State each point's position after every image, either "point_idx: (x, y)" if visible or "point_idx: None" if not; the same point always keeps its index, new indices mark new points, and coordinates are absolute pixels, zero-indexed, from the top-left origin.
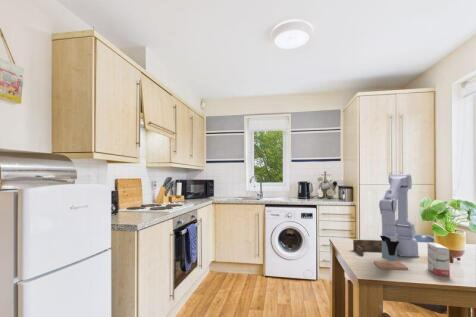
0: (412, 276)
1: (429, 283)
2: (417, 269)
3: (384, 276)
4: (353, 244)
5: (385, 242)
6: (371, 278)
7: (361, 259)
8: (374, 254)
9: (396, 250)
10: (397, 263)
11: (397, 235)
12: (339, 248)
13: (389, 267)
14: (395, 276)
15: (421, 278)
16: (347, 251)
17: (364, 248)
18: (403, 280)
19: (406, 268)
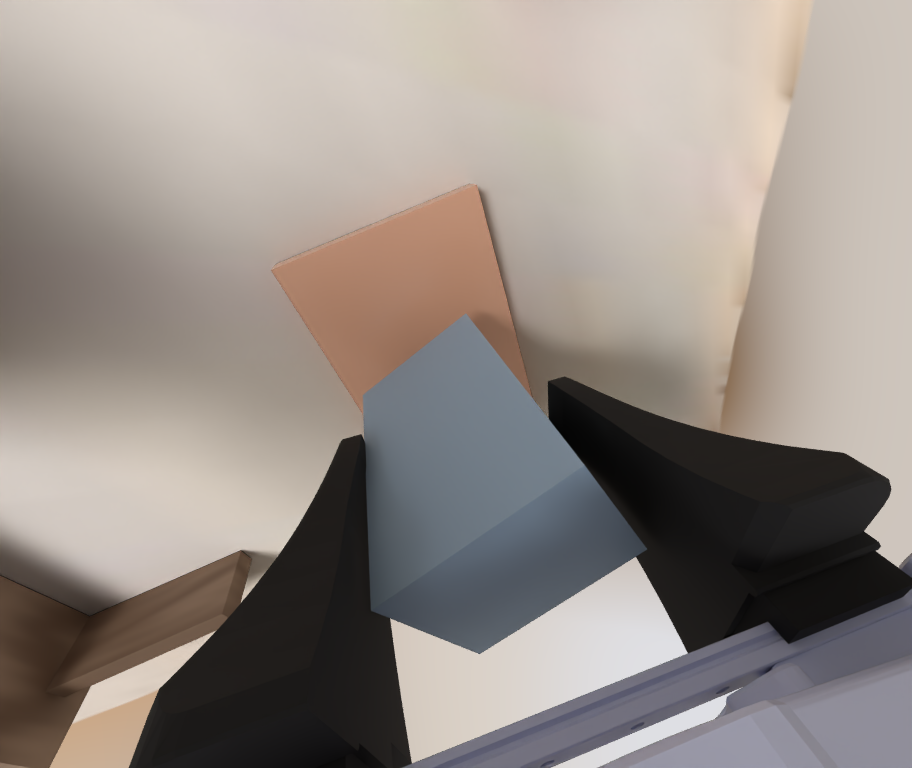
0: (651, 170)
1: (807, 22)
2: (398, 41)
3: (672, 375)
4: (74, 702)
5: (559, 602)
6: (705, 429)
7: None
8: (81, 503)
9: (520, 383)
10: (375, 294)
11: (796, 742)
12: (156, 688)
13: (520, 360)
14: (666, 312)
15: (693, 79)
16: (200, 640)
17: (2, 614)
18: (735, 261)
19: (478, 204)
